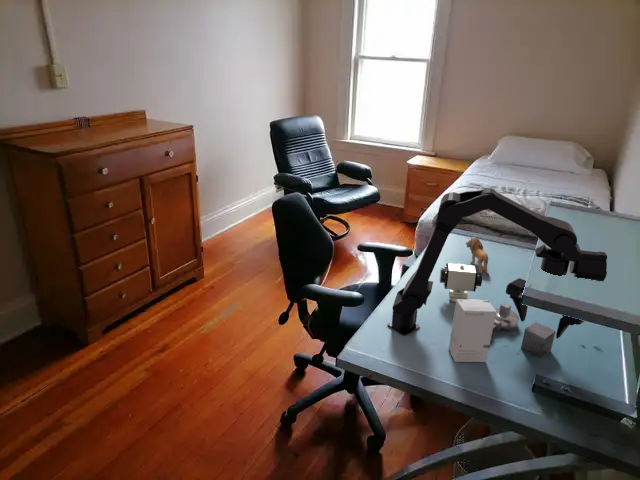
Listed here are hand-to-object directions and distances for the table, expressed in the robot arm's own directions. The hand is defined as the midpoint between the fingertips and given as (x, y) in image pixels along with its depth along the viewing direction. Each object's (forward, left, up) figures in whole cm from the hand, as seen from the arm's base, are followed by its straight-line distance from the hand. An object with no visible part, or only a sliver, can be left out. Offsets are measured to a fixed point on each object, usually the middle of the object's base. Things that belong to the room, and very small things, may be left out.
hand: (539, 329), depth 117 cm
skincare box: (-15, +9, -7) cm, 19 cm away
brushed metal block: (0, 0, -6) cm, 6 cm away
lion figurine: (+29, +37, -7) cm, 47 cm away
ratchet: (-2, +12, -6) cm, 14 cm away
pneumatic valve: (+5, +28, -6) cm, 29 cm away
